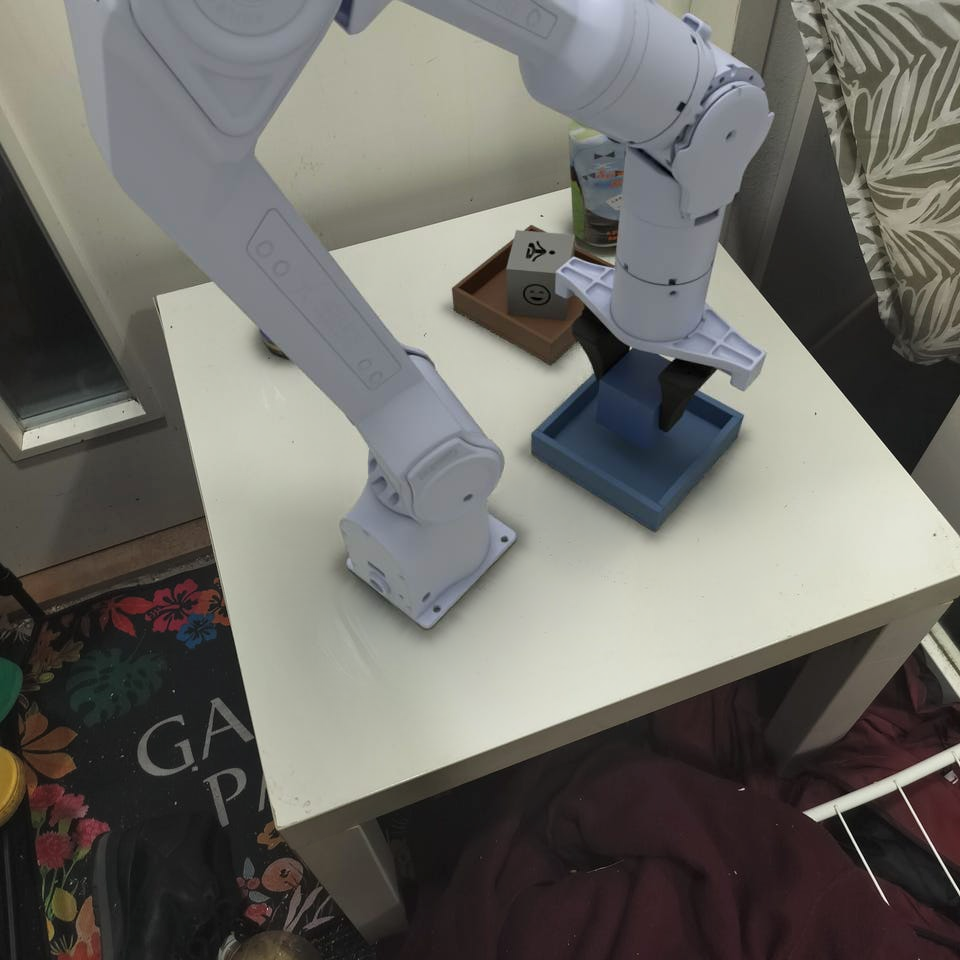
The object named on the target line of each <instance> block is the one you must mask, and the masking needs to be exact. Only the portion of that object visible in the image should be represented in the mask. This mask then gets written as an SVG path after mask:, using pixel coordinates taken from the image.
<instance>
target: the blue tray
mask: <svg viewBox="0 0 960 960" xmlns="http://www.w3.org/2000/svg"><path fill="white" fill-rule="evenodd" d="M598 392H599V388H598V384H597V380H596V377H595V374H594V372H593V373H591V375H590V376H589V377H588V378H587V379H586V380H585V381H584V382H583V383H582V384H580V385H579V386H578V388H576V389H575V391H573V392H572V393H571V395H569V396H568V397H567V398H566V399H565V400H564V401H563V402H562V403H561V404H560V405H559V406H558V407H557V408H556V409H554V410H553V412H552V413H551V414H549V415H548V416H547V417H546V418H545V420H543V421H542V422H541V423H540V424H539V425H538V426H537V427H536V428H535V429H534V430H533V431H532V432H531V434H530V451H531V452H530V454H531V455H532V456H534V457H535V458H537V459H538V460H540V461H541V462H543V463H544V464H546V465H548V466H550V467H551V468H552V469H554V470H555V471H558V472H559V473H561V474H562V475H563V476H565V477H567V478H569V479H570V480H571V481H573V482H575V483H576V484H578V485H579V486H581V487H582V488H584V489H586V490H587V491H589V492H591V493H593V494H594V495H595V496H597V497H598V498H600V499H602V500H603V501H605V502H606V503H608V504H609V505H611V506H613V507H614V508H616V509H617V510H619V511H620V512H622V513H623V514H625V515H626V516H629V517H630V518H632V519H633V520H635V521H636V522H638V523H639V524H641V525H643V526H644V527H646V528H647V529H649V530H650V531H652V532H654V533H655V532H656V531H657V530H658V529H659V528H660V527H661V526H662V525H663V523H664V522H665V521H666V520H667V519H668V518H669V517H670V515H671V514H672V513H673V512H674V511H675V510H676V508H677V507H678V506H679V505H680V504H681V503H682V502H683V500H684V499H685V498H686V497H687V496H688V494H689V493H690V492H691V491H692V490H693V489H694V487H695V486H696V485H697V484H698V483H699V482H700V481H701V480H702V478H703V477H704V476H705V475H706V474H707V473H708V471H709V470H710V469H711V468H712V467H713V466H714V464H715V463H716V462H717V461H718V460H719V458H721V456H722V455H723V454H724V453H725V452H726V450H728V448H729V447H730V446H731V445H732V443H733V442H734V441H735V440H736V439H737V438H738V437H739V433H740V430H741V427H742V425H743V421H744V417H745V414H744V413H742V412H741V411H738V410H736V409H735V408H732V406H731V407H730V406H729V405H727V404H724V403H723V402H721V401H719V400H718V399H715V398H714V397H713V396H710V395H708V394H706V393H704V392H703V391H701V390H700V389H699V390H698V391H697V392H696V393H695V394H694V395H693V397H692V398H691V400H690V402H689V403H688V405H687V407H686V409H685V411H684V413H683V416H682V418H681V419H680V420H679V421H678V422H677V423H676V424H675V425H674V426H673V427H672V428H671V429H670V431H669V432H665V433H664V434H663V435H662V436H661V437H660V438H659V439H658V440H657V441H656V442H655V444H654V445H653V446H652V447H651V448H650V449H649V450H648V451H645V450H643V449H642V448H640V447H638V446H636V445H635V444H633V443H631V442H630V441H628V440H626V439H625V438H623V437H621V436H619V435H618V434H616V433H614V432H613V431H611V430H609V429H608V428H606V427H604V426H603V425H601V424H599V423H597V422H596V413H597V403H598Z"/></svg>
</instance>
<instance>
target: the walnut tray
mask: <svg viewBox="0 0 960 960" xmlns="http://www.w3.org/2000/svg"><path fill="white" fill-rule="evenodd" d="M523 231H534V232H546V231H545V230H544V229H541V228H539V227H538V226H535V225H533V224H530V225H529V226H527V227H526V228H525V229H524V230H523ZM513 241H514V238H512V239H511V240H510V241H509V242H507V243H506V244H504V246H502V247H501V248H500V249H499V250H497V251H496V252H495V253H493V254H492V255H491V256H490V257H488V259H486V260H485V261H483V262H482V263H481V264H480V265H479V266H477V267H476V268H475V269H473V271H471V272H469V273H468V274H467V275H466V276H465V277H463V279H461V280H459V282H457V283H456V284H455V285H454V286H453V287H451V295H452V296H451V297H452V306H453V310H454V311H455V312H457V313H458V314H461V315H462V316H464V317H466V318H467V319H469V320H471V321H473V322H474V323H476V324H478V325H480V326H481V327H483V328H485V329H487V330H488V331H490V332H492V333H493V334H495V335H497V336H499V337H501V338H502V339H504V340H506V341H508V342H510V343H511V344H513V345H514V346H516V347H518V348H520V349H521V350H523V351H525V352H527V353H528V354H530V355H532V356H534V357H536V358H537V359H539V360H541V361H543V362H544V363H546V364H548V365H549V366H552V365H553V364H554V363H555V362H556V361H557V360H559V358H560V357H562V356H563V355H564V354H565V353H566V352H567V351H568V350H569V349H570V348H571V347H572V346H573V345H574V344H576V342H578V341H577V340H576V339H575V338H574V337H573V335H572V324H573V322H574V321H575V320H576V319H577V318H578V317H579V316H580V315H581V314H582V310H584V303H583V302H582V300H581V299H580V298H579V297H577V296H575V295H572V296H571V297H570V299H569V305H568V310H567V315H566V320H557V319H546V318H536V317H525V316H514V315H508V309H507V278H506V268H507V264H508V260H509V256H510V252H511V248H512V244H513ZM574 257H576V258H579V259H581V260H583V261H586V262H589V263H592V264H596V265H601V266H606V267H611V268H614V267H615V264H613V263H611V262H609V261H606V260H604V259H602V258H600V257H598V256H596V255H594V254H592V253H590V252H589V251H586V250H584V249H582V248H580V247H578V246H576V245H575V248H574Z"/></svg>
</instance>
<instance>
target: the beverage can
mask: <svg viewBox="0 0 960 960" xmlns="http://www.w3.org/2000/svg"><path fill="white" fill-rule="evenodd" d="M567 136H568V151H569V171H570V172H569V173H570V191H571V192H570V193H571V209H572V210H571V212H572V227H573V228H572V229H573V233H574V235H575V237H577V238H578V239H579V240H581V241H582V242H585V243H586V244H588V245H590V246H592V247H593V246H594V247H598V248H599V247H600V248H606V247H607V248H608V247H614V246H617V238H618V228H619V218H620V207H621V197H622V187H623V177H624V166H625V156H626V146H627V145H624V144H622V143H620V142H618V141H616V140H614V139H612V138H610V137H608V136H606V135H604V134H602V133H599V132H597V131H595V130H593V129H591V128H589V127H587V126H585V125H583V124H581V123H579V122H577V121H575V120H573V119H571V122H570V124H569V127H568V135H567Z"/></svg>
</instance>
